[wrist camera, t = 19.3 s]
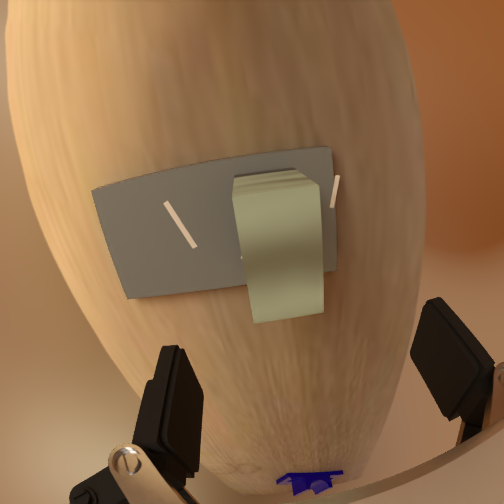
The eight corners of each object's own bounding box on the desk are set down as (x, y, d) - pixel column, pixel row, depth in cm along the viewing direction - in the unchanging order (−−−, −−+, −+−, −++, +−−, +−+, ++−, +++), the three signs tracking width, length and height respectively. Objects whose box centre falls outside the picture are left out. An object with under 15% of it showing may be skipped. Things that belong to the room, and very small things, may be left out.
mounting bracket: (276, 479, 57) (278, 496, 52) (287, 471, 55) (290, 490, 49) (328, 477, 61) (332, 492, 55) (342, 469, 58) (346, 485, 53)
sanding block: (234, 175, 23) (231, 197, 15) (293, 167, 23) (319, 185, 15) (249, 269, 26) (253, 323, 19) (301, 261, 26) (323, 312, 19)
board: (98, 187, 24) (91, 190, 22) (332, 145, 23) (337, 146, 22) (131, 291, 29) (127, 299, 27) (337, 262, 28) (342, 269, 27)
